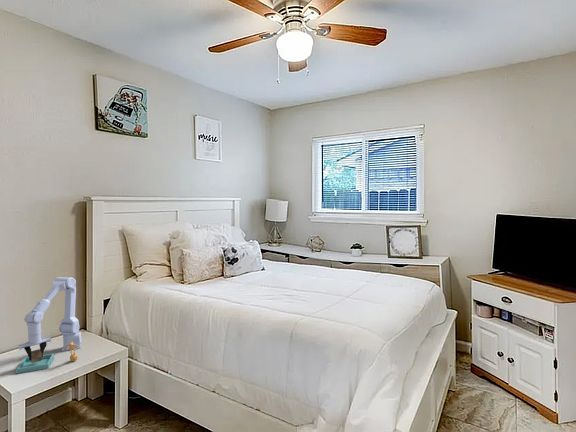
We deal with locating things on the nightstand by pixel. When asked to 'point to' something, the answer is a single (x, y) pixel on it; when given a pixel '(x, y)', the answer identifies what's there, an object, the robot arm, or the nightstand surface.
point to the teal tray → (35, 364)
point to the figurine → (73, 356)
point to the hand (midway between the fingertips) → (35, 358)
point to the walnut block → (36, 356)
